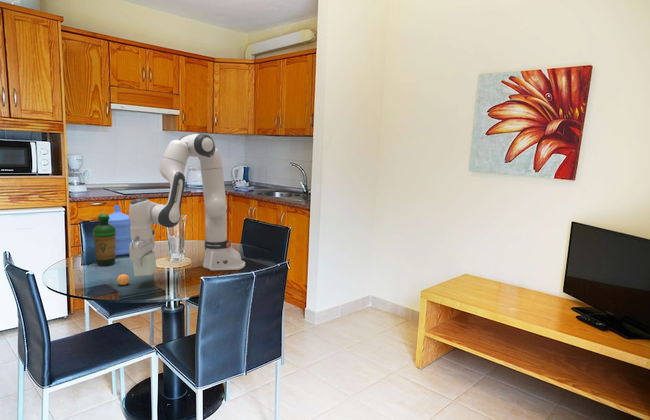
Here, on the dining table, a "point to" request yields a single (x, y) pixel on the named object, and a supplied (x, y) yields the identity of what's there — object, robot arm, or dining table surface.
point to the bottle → (104, 241)
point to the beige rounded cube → (145, 265)
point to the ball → (123, 279)
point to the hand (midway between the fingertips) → (143, 263)
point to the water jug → (121, 231)
